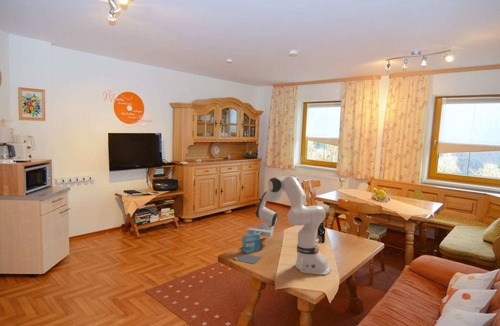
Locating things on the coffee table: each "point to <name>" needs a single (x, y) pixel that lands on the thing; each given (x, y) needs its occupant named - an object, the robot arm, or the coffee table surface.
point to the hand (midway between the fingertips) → (255, 235)
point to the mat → (247, 258)
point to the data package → (251, 243)
